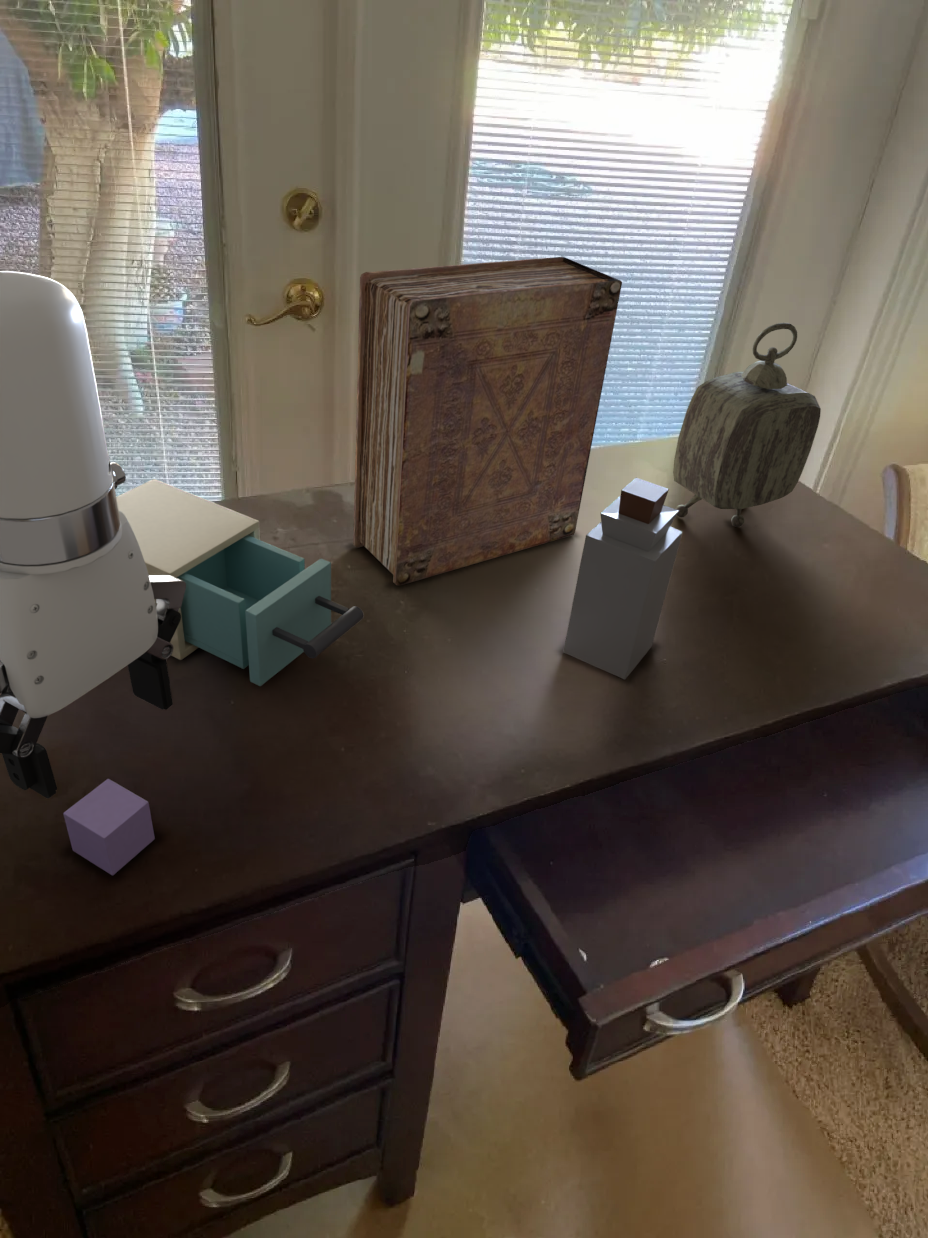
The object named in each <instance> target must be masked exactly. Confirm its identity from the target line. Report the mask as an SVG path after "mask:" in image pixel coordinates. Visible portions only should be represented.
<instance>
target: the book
mask: <svg viewBox="0 0 928 1238" xmlns="http://www.w3.org/2000/svg"><path fill="white" fill-rule="evenodd" d="M622 287H623V281H622V280H621V279H618V278H616V277H613V276H611V275H609V274H606V273H603V272H602V271H600V270H597V269H594V268H592V267H590V266H588V265H585V264H582V263H580V262H578V261H575V260H573V259H571V258H568V257H565V256H552V257H541V258H540V257H539V258H528V259H515V260H513V259H512V260H502V261H490V262H489V261H488V262H476V263H475V262H474V263H463V264H462V263H461V264H452V265H450V264H449V265H438V266H427V267H425V266H424V267H414V268H413V267H411V268H401V269H387V270H375V271H365V272H363V273H361V274H360V277H359V305H358V306H359V307H358V338H357V339H358V341H357V379H356V380H357V381H356V412H355V413H356V416H355V417H356V420H355V424H356V425H355V452H354V453H355V456H354V463H355V464H354V489H353V490H354V494H353V496H354V497H353V532H352V534H353V535H352V545H353V546H354V547H355V548H356V549H358V548H362V547H364V548H365V549H366V550H368V551H369V553H370V554H371V555H373V556H374V557H375V558H376V559H377V560H378V561H379V562H380V563H381V564H382V566H383V567H384V568H386V569H387V570H388V571H389V572H390V573H391V574H392V576H393V580H392V582H393V583H394V585H396V586H403V585H406V584H410V583H413V582H417V581H420V580H424V579H428V578H430V577H434V576H437V575H441V574H445V573H448V572H451V571H454V570H458V569H462V568H464V567H465V568H466V567H469V566H472V565H474V564H478V563H482V562H485V561H489V560H493V559H495V558H496V559H497V558H499V557H502V556H506V555H509V554H513V553H516V552H520V551H523V550H526V549H531V548H534V547H538V546H540V545H544V544H547V543H551V542H555V541H557V540H561V539H564V538H568V537H572V536H574V535H575V534H576V529H577V524H578V520H579V514H580V508H581V503H582V498H583V493H584V487H585V481H586V476H587V471H588V465H589V460H590V456H591V449H592V446H593V439H594V435H595V429H596V424H597V419H598V413H599V407H600V402H601V397H602V392H603V387H604V381H605V377H606V376H605V375H606V370H607V365H608V360H609V355H610V349H611V345H612V338H613V334H614V328H615V322H616V318H617V312H618V306H619V303H620V296H621V291H622Z"/></svg>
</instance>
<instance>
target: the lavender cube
mask: <svg viewBox="0 0 928 1238" xmlns="http://www.w3.org/2000/svg"><path fill="white" fill-rule="evenodd" d="M62 814H63V818H64V822H65V826H66V829H67V834H68V837H69V841H70V845H71V848H72V852H74V853H76V854H77V855H79V856H81V857H82V858H84V859H85V860H87V861H89V862H90V863H92V864H93V865H95V866H96V867H98V868H99V869H101V870H103V871H105V872H106V873H107V874H109V875H111V876H112V877H113V876H114V875H116V874H117V872H119V871H120V870H121V869H122V868H124V867H125V866H126V865H127V864H128V863H129V862H131V860H132V859H134V858H135V857H136V856H137V855H138V854H139V853H141V852H142V851H143V850H144V849H145V848H146V847H148V846H149V845H150V844H151V843H152V842H153V841H154V840H155V839H156V838H155V832H154V826H153V821H152V815H151V809H150V804H149V801H148V800H146V799H144V798H142V797H141V796H139V795H137V794H135V793H134V792H132V791H130V790H128V789H127V788H125V787H123V786H122V785H120V784H118V783H117V782H115V781H113V780H111V779H110V778H107V779H106V780H104V781H103V782H101V783H100V784H98V786H96V787H95V788H94V789H93V790H91V791H90V792H89V793H87V794H86V795H85V796H84V797H82V798H81V799H79V800H78V801H77V802H75V803H74V804H73V805H72V806H70V807H69V808H68V809H67V810H65V811H64V812H63V813H62Z"/></svg>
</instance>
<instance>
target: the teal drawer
mask: <svg viewBox="0 0 928 1238" xmlns="http://www.w3.org/2000/svg"><path fill="white" fill-rule="evenodd" d="M305 561H306V559H305V558H304V557H302V556H300V555H297V554H295V553H292V552H290V551H287V550H285V549H282V548H280V547H277V546H275V545H273V544H270V543H268V542H265V541H263V540H261V539H260V540H258V539H256V538H253V537H251V536H248V535H246V536H245V537H243V538H241V539H240V540H238V541H236V542H235V543H233V544H231V545H230V546H228V547H226V548H225V549H223V550H221V551H220V552H218V553H216V554H215V555H213V556H211V557H210V558H208V559H207V560H205V561H203V562H202V563H200V564H198V565H197V566H195V567H193V568H192V569H190V570H188V571H187V572H185V573H183V574H182V575H180V576H178V577H177V578H178V579H180V580H182V581H184V582H185V583H186V590H185V594H184V598H183V602H182V606H181V614H182V622H183V631H184V639H185V641H186V642H188V643H191V644H193V645H195V646H197V647H199V648H198V649H201V650H203V651H205V652H207V653H210V654H211V655H214V656H215V657H217V658H220V659H221V660H224V661H226V662H228V663H229V664H232V665H234V666H236V667H238V668H241V669H243V670H245V669H246V668H248V672H249V673H248V674H249V682H250V683H252V684H255V685H256V686H258V687H262V686H263V685H264V684H265V683H267V682H268V681H269V680H271V678H273V677H274V676H275V675H276V674H277V673H280V671H282V670H283V669H285V667H286V666H288V665H289V664H291V663H292V662H293V661H294V660H295V659H296V658H298V657H300V655H302V654H303V653H304V654H305V656H307V657H308V658H309V659H315V658H317V657H318V656H319V655H321V654H322V653H323V652H324V651H325V650H326V649H328V648H329V647H330V646H331V645H333V644H334V643H335V642H336V641H338V640H339V639H340V638H341V637H342V636H344V635H345V634H346V633H348V631H349V630H350V629H352V628H353V627H355V626H356V625H357V624H358V623H359V622H361V621H362V620H363V619H364V611H363V610H362V609H361V608H360V607H359V606H356V605H355V606H352V607H350V608H349V607H347V606H344V605H342V604H340V603H337V602H335V601H332V562H331V561H329V560H326V559H324V558H319V559H317V560H316V561H315V562H314V563H312V564H311V565H309V566H308V567H306V566H305V565H306V563H305ZM332 612H333V613H336V614H339V615H340V616H339V617H338V618H336V620H334V621H333V622H332Z"/></svg>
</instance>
